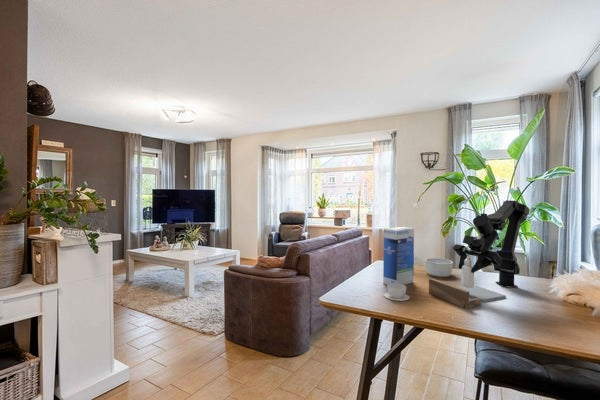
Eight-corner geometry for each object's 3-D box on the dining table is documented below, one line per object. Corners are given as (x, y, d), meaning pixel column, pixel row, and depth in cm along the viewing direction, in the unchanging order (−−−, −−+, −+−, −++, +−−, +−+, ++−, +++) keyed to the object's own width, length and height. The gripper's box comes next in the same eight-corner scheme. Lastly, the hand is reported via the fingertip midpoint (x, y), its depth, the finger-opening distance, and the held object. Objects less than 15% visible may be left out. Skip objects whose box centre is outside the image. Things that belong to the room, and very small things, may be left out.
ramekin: (436, 278, 146) (437, 264, 146) (419, 271, 158) (419, 258, 158) (458, 276, 149) (459, 262, 149) (440, 270, 162) (440, 257, 162)
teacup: (411, 302, 114) (411, 290, 114) (385, 301, 116) (385, 289, 116) (407, 294, 124) (407, 282, 124) (382, 292, 126) (382, 281, 126)
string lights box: (401, 278, 145) (401, 226, 144) (414, 282, 139) (415, 228, 138) (382, 283, 138) (382, 228, 137) (395, 287, 131) (396, 230, 131)
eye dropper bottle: (461, 287, 119) (461, 257, 119) (461, 283, 124) (461, 254, 124) (474, 288, 117) (474, 258, 116) (473, 284, 122) (473, 255, 121)
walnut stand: (442, 290, 127) (442, 276, 127) (480, 305, 110) (481, 289, 110) (428, 292, 125) (428, 278, 125) (466, 308, 108) (466, 292, 108)
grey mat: (476, 288, 131) (476, 285, 131) (505, 297, 119) (506, 295, 119) (454, 291, 126) (454, 289, 126) (482, 302, 114) (482, 299, 114)
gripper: (456, 225, 130) (436, 253, 126) (497, 231, 112) (475, 263, 109) (469, 242, 133) (450, 269, 129) (511, 249, 115) (491, 281, 112)
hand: (465, 270), depth 120 cm, fingers closed on eye dropper bottle, 5 cm apart
